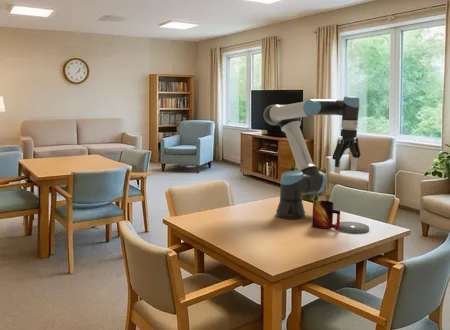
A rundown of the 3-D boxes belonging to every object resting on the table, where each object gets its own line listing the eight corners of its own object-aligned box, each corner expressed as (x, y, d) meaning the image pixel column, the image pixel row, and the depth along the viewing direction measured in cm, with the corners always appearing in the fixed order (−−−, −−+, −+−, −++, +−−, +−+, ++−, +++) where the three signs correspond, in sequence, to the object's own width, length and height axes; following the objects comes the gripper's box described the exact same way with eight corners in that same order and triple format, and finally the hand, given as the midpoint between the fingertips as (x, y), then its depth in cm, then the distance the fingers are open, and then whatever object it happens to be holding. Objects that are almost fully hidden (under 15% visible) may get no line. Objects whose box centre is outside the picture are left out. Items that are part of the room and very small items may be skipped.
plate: (327, 227, 218) (328, 224, 218) (347, 222, 229) (347, 219, 228) (356, 235, 206) (356, 232, 206) (375, 229, 216) (375, 226, 216)
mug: (338, 231, 212) (340, 207, 210) (309, 227, 218) (311, 203, 216) (342, 226, 221) (343, 202, 219) (314, 223, 226) (315, 199, 224)
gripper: (340, 130, 207) (336, 176, 211) (370, 128, 223) (366, 170, 227) (326, 129, 212) (323, 173, 216) (356, 127, 228) (353, 168, 232)
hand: (345, 172), depth 222 cm, fingers open, 13 cm apart
